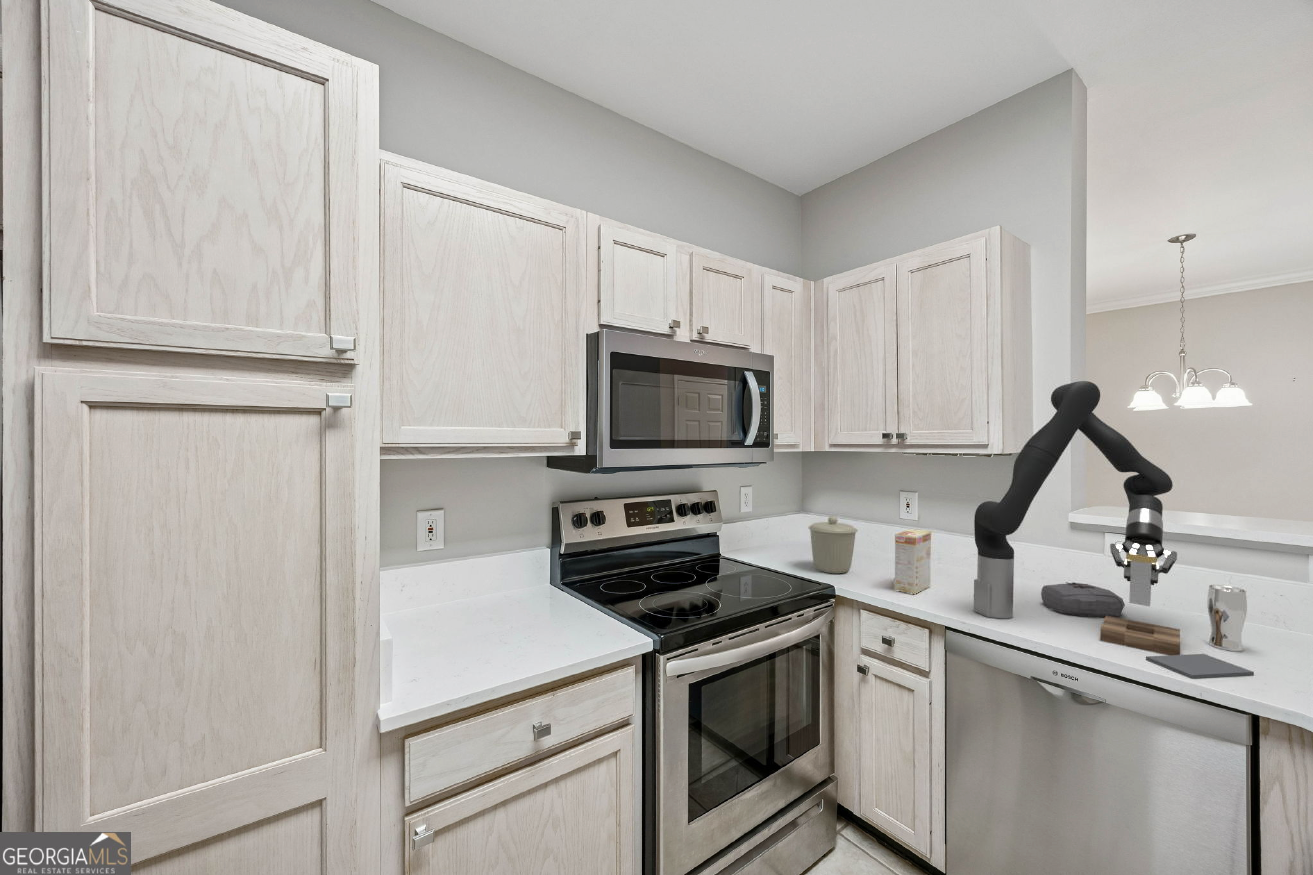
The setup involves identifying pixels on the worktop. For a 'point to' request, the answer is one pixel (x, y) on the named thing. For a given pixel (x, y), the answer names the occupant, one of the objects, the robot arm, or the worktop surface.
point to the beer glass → (1226, 616)
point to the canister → (832, 545)
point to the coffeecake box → (912, 560)
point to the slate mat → (1199, 666)
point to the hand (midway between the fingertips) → (1140, 581)
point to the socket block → (1141, 635)
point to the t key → (1140, 578)
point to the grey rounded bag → (1082, 600)
